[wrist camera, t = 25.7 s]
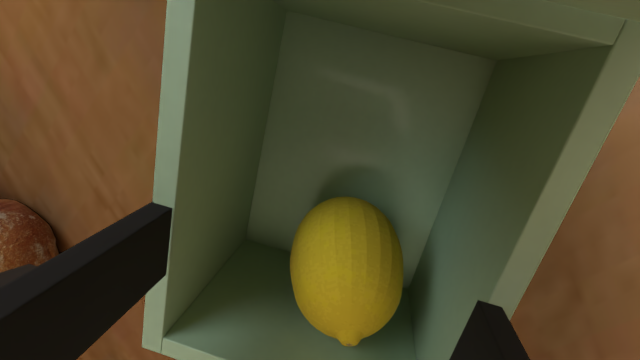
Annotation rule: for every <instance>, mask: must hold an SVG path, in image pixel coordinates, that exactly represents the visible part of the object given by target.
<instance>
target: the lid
mask: <svg viewBox="0 0 640 360" xmlns="http://www.w3.org/2000/svg"><path fill="white" fill-rule="evenodd" d="M542 1H546V2H551V3H555V4H560V5H565V6H569V7H574V8H578V9H583V10H587V11H592V12H597V13H601V14H606V15H610V16H615V17H619V18H624V19H629V20H633V21H638V22H640V0H542Z"/></svg>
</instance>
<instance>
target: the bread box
mask: <svg viewBox="0 0 640 360" xmlns="http://www.w3.org/2000/svg"><path fill="white" fill-rule="evenodd" d="M639 76H640V22H638V21H633V20H629V19H624V18H619V17H615V16H610V15H606V14H601V13H597V12H592V11H587V10H583V9H578V8H574V7H569V6H565V5H560V4H555V3H551V2H546V1H542V0H167V12H166V25H165V39H164V52H163V66H162V80H161V93H160V107H159V120H158V134H157V147H156V161H155V174H154V188H153V202H154V203H157V204H160V205H164V206H167V207H170V208H173V209H172V219H171V229H170V240H169V250H168V261H167V271H166V275H165V276H164V277H163V278H162V279H161V280H160V281H159V282H158V283H157V284H156V285H155V286H154V287H153V288H152V289H151V290H149V291H148V292H147V293H146V296H145V310H144V323H143V337H142V347H143V348H146V349H148V350H151V351H154V352H157V353H161V354H163V355H166V356H169V357H171V358H174V359H177V360H449V359H450V357H451V355H452V353H453V351H454V349H455V346H456V344H457V342H458V340H459V338H460V336H461V334H462V332H463V330H464V328H465V326H466V324H467V321H468V319H469V317H470V315H471V313H472V311H473V309H474V307H475V305H476V303H477V301H478V300H480V301H483V302H487V303H490V304H493V305H497V306H500V307H502V308H503V310H504V311H505V313H506V315H507V317H508V319H509V321H510V319H511V317H512V315H513V313H514V311H515V309H516V308H517V306H518V304H519V302H520V300H521V298H522V296H523V294H524V292H525V291H526V289H527V287H528V285H529V283H530V281H531V279H532V277H533V276H534V274H535V272H536V270H537V268H538V266H539V264H540V262H541V260H542V259H543V257H544V255H545V253H546V251H547V249H548V247H549V245H550V243H551V242H552V240H553V238H554V236H555V234H556V232H557V230H558V228H559V227H560V225H561V223H562V221H563V219H564V217H565V215H566V213H567V211H568V210H569V208H570V206H571V204H572V202H573V200H574V198H575V196H576V194H577V193H578V191H579V189H580V187H581V185H582V183H583V181H584V179H585V178H586V176H587V174H588V172H589V170H590V168H591V166H592V164H593V162H594V161H595V159H596V157H597V155H598V153H599V151H600V149H601V147H602V145H603V144H604V142H605V140H606V138H607V136H608V134H609V132H610V130H611V129H612V127H613V125H614V123H615V121H616V119H617V117H618V115H619V113H620V112H621V110H622V108H623V106H624V104H625V102H626V100H627V98H628V97H629V95H630V93H631V91H632V89H633V87H634V85H635V83H636V81H637V80H638V78H639ZM345 196H347V197H355V198H358V199H362V200H365V201H367V202H369V203H371V204H372V205H374V206H376V207H377V208H378V209H379V210H380V211H381V212H382V213H383V214H384V215H385V216H386V217H387V218H388V219H389V221H390V222H391V224H392V226H393V228H394V230H395V232H396V234H397V237H398V239H399V242H400V245H401V250H402V255H403V288H402V295H401V299H400V302H399V305H398V307H397V309H396V311H395V313H394V314H393V316H392V317H391V319H390V320H389V321H388V322H387V323H386V324H385V325H384V326H383V327H382V328H381V329H380V330H378V331H377V332H376V333H374V334H372V335H370V336H368V337H365V338H362V339H361V340H360V342H359V343H358V344H357V345H356V346H344V345H342V344H341V343H340V342H339V340H338V339H335V338H333V337H330V336H327V335H325V334H324V333H322V332H321V331H319V330H318V329H316V328H315V327H314V326H313V325H311V324H310V323H309V321H308V320H307V319H306V318H305V316H304V315H303V314H302V312H301V311H300V309H299V307H298V305H297V302H296V299H295V295H294V291H293V286H292V281H291V273H290V255H291V249H292V244H293V240H294V237H295V233H296V231H297V228H298V226H299V224H300V223H301V221H302V220H303V218H304V217H305V216H306V214H307V213H308V212H309V211H310V210H312V209H313V208H314V207H315V206H317V205H318V204H319V203H322V202H324V201H326V200H328V199H331V198H335V197H345Z"/></svg>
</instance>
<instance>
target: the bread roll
mask: <svg viewBox="0 0 640 360" xmlns="http://www.w3.org/2000/svg"><path fill="white" fill-rule="evenodd" d="M57 255H59V252H58V250H57V247H56V238H55V236H54V234H53V232H52V229H51V227H50V226H49V225H48V223H47V222H45V221H44V220H43V219H42V218H41V217H40V216H39V215H37V214H36V213H35V212H34V211H32V210H31V209H29V208H28V207H27V206H25V205H23V204H21V203H19V202H18V201H16V200H9V199H0V273H1V272H4V271H7V270H11V269H14V268H17V267H20V266H23V265H27V264H32V265H35V266H39V265H41V264H43V263H44V262H46V261H48V260H50V259H52V258H53V257H55V256H57Z"/></svg>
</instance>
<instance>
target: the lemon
mask: <svg viewBox="0 0 640 360" xmlns="http://www.w3.org/2000/svg"><path fill="white" fill-rule="evenodd" d="M290 273H291V281H292V286H293V291H294V295H295V299H296V302H297V305H298V307H299V309H300V311H301V312H302V314H303V315H304V316H305V318H306V319H307V320H308V321H309V323H310V324H311V325H313V326H314V327H315V328H316V329H318V330H319V331H321V332H322V333H324V334H325V335H327V336H330V337H333V338H335V339H338V340H339V342H340V343H341V344H342V345H344V346H356V345H357V344H358V343H359V342H360V340H361V339H362V338H365V337H368V336H370V335H372V334H374V333H376V332H377V331H378V330H380V329H381V328H382V327H383V326H384V325H385V324H386V323H387V322H388V321H389V320H390V319H391V317H392V316H393V314H394V313H395V311H396V309H397V307H398V305H399V302H400V299H401V295H402V288H403V255H402V250H401V245H400V242H399V239H398V237H397V234H396V232H395V230H394V228H393V226H392V224H391V222H390V221H389V219H388V218H387V217H386V216H385V215H384V214H383V213H382V212H381V211H380V210H379V209H378V208H377V207H376V206H374V205H372V204H371V203H369V202H367V201H365V200H362V199H358V198H355V197H347V196H345V197H335V198H331V199H328V200H326V201H324V202H322V203H319V204H318V205H317V206H315V207H314V208H313V209H312V210H310V211H309V212H308V213H307V214H306V216H305V217H304V218H303V220H302V221H301V223H300V224H299V226H298V228H297V231H296V233H295V237H294V240H293V244H292V249H291V255H290Z"/></svg>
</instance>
